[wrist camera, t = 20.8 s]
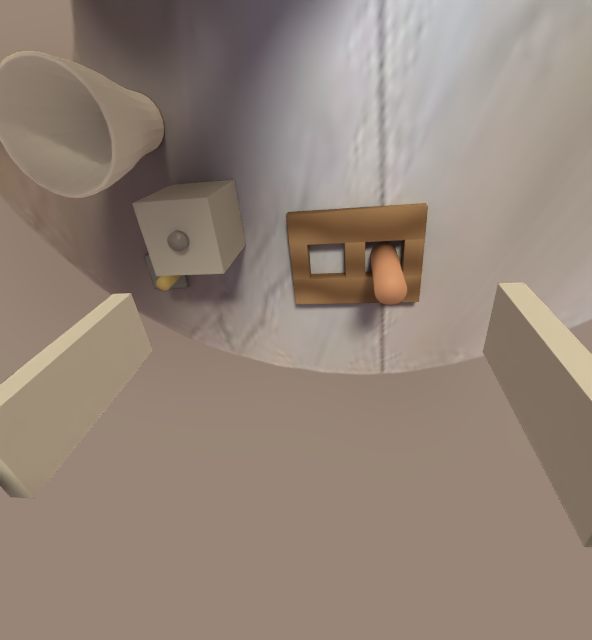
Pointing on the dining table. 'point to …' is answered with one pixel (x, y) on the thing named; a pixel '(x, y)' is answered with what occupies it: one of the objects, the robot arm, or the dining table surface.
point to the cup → (72, 124)
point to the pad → (154, 278)
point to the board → (354, 250)
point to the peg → (387, 274)
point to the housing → (192, 227)
